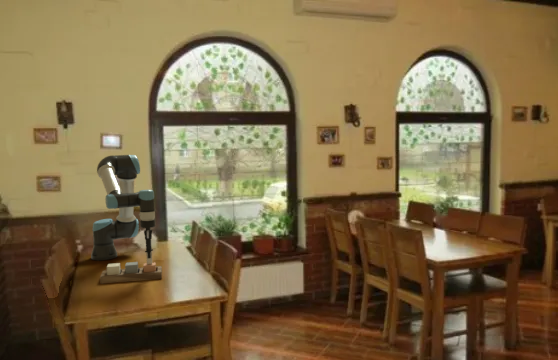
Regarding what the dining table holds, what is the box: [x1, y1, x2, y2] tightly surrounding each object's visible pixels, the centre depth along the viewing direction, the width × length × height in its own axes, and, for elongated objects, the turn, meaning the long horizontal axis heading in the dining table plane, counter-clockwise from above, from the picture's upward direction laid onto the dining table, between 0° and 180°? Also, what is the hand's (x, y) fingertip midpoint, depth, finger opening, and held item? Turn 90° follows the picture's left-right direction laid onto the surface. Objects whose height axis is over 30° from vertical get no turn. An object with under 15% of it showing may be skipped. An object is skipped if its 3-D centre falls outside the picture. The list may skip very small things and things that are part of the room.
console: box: [99, 265, 163, 285], centre depth 252 cm, size 12×30×4 cm, turn 103°
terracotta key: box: [143, 261, 157, 272], centre depth 254 cm, size 6×6×4 cm
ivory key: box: [106, 262, 122, 275], centre depth 250 cm, size 6×6×4 cm
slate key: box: [124, 261, 139, 274], centre depth 252 cm, size 6×6×4 cm
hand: (149, 263), depth 253 cm, fingers closed
